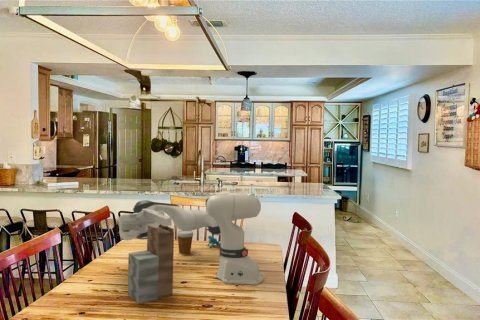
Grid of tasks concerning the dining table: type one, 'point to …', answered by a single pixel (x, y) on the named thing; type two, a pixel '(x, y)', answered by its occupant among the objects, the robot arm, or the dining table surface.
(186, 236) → the disposable coffee cup
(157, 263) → the stand
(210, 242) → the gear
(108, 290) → the dining table surface
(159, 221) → the steel bar
